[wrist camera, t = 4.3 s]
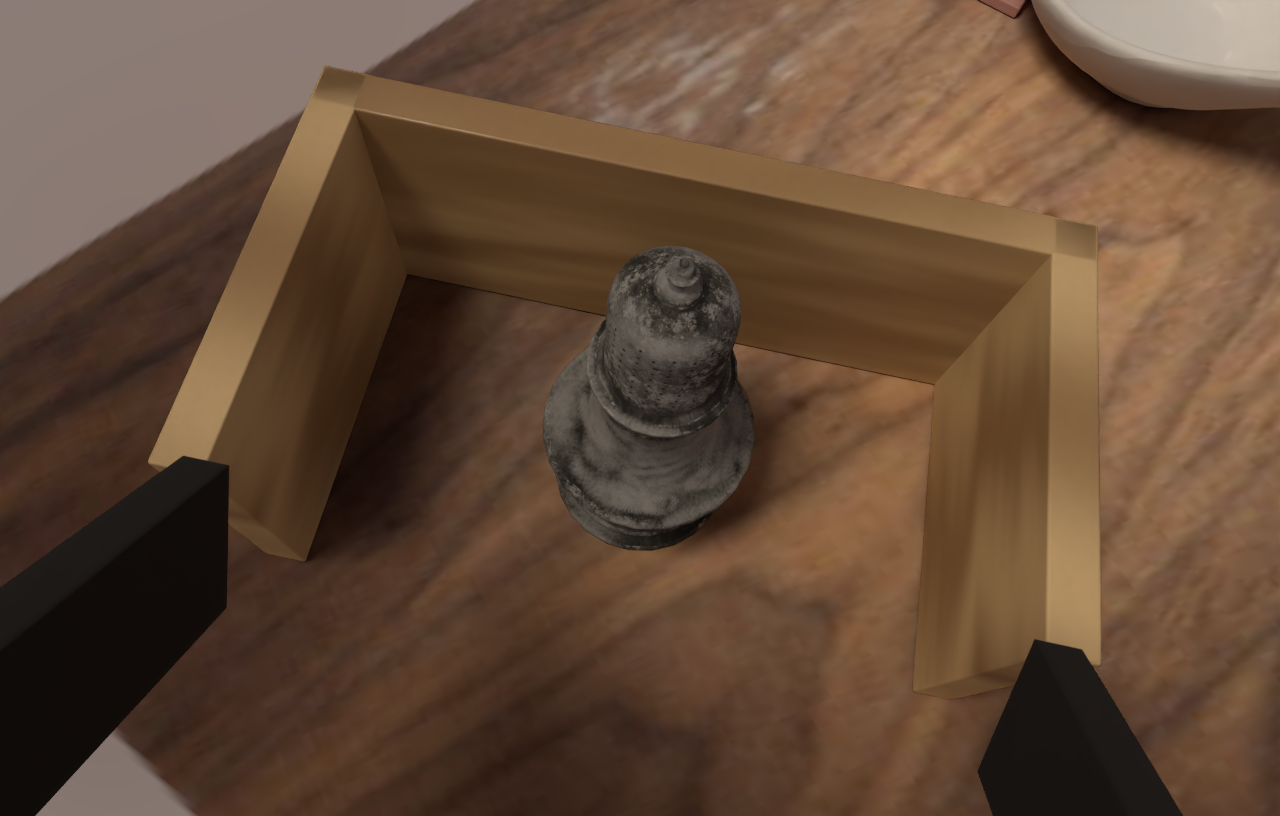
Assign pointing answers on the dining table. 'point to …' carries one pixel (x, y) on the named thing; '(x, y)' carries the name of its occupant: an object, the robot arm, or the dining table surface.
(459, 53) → the dining table surface
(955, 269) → the cubby
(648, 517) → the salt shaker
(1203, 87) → the spoon rest
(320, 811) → the dining table surface
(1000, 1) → the mat
